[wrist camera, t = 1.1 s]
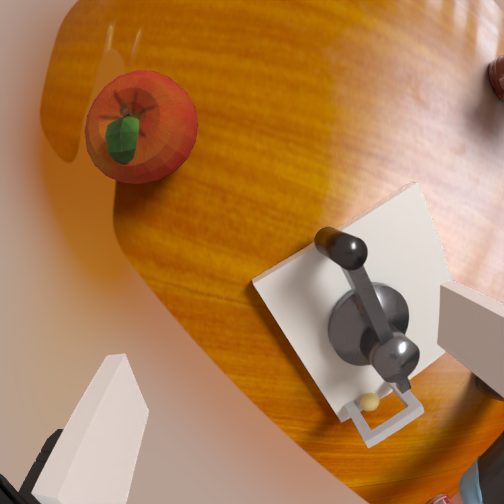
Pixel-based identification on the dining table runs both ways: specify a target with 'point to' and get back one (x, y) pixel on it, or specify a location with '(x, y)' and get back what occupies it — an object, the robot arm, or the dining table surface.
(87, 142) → the fruit
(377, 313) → the lever handle
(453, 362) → the dining table surface
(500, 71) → the mug
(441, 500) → the beverage can
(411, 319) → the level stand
